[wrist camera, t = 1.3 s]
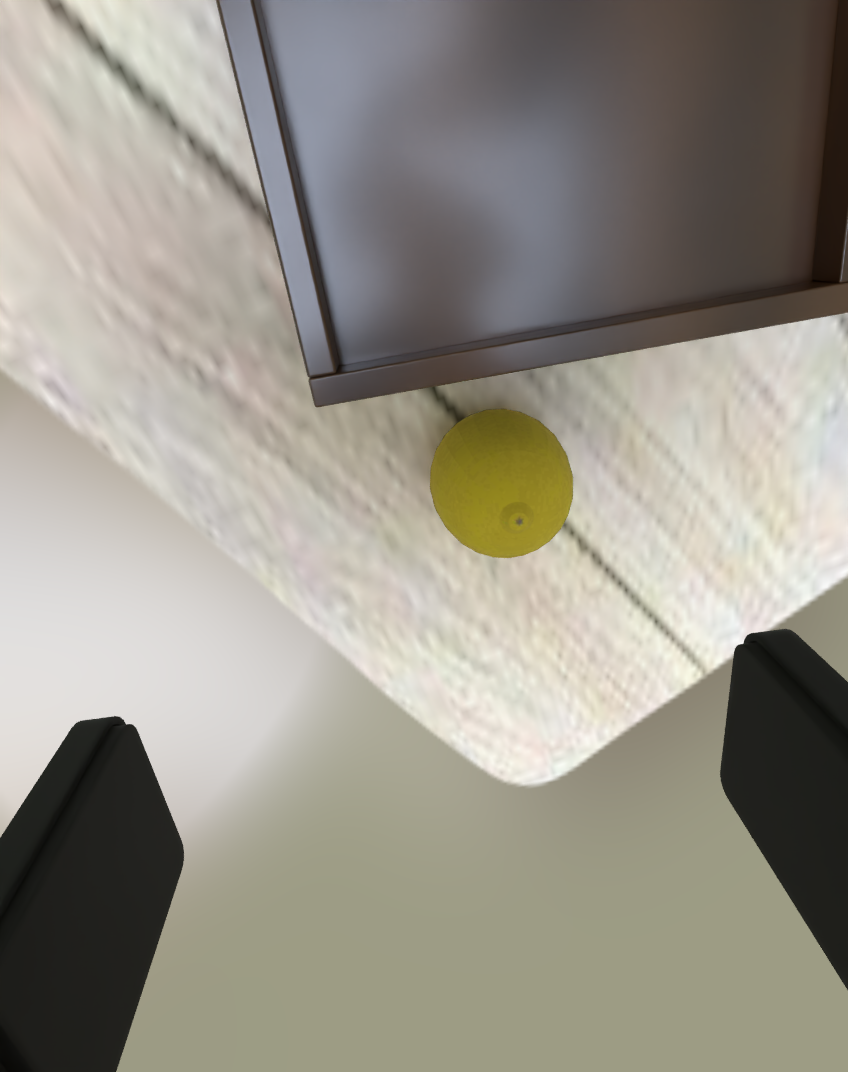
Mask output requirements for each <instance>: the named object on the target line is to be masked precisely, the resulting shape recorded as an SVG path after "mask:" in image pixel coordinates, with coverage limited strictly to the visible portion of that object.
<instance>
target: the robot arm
mask: <svg viewBox="0 0 848 1072" xmlns="http://www.w3.org/2000/svg"><path fill="white" fill-rule="evenodd" d="M720 777H721V782H722V786H723V789H724V792H725V794H726V796H727V798H728V799H729V801H730V803H731V804H732V806H733V807H734V809H735V811H736V812H737V814H738V815H739V817H740V818H741V820H742V822H743V823H744V825H745V827H746V828H747V829H748V831H749V833H750V835H751V836H752V838H753V839H754V841H755V843H756V844H757V846H758V847H759V849H760V850H761V852H762V854H763V855H764V857H765V858H766V860H767V862H768V863H769V865H770V866H771V868H772V870H773V871H774V873H775V875H776V876H777V878H778V879H779V881H780V883H781V884H782V886H783V887H784V889H785V891H786V892H787V894H788V895H789V897H790V899H791V900H792V902H793V903H794V905H795V906H796V908H797V910H798V911H799V913H800V914H801V916H802V918H803V919H804V921H805V923H806V924H807V926H808V927H809V929H810V930H811V932H812V933H813V935H814V937H815V939H816V940H817V942H818V943H819V945H820V947H821V948H822V950H823V951H824V953H825V954H826V956H827V958H828V959H829V961H830V962H831V964H832V966H833V967H834V969H835V970H836V972H837V974H838V975H839V977H840V979H841V980H842V982H843V983H844V985H845V987H846V988H847V989H848V682H847V681H846V680H845V679H844V678H843V677H842V676H841V675H840V674H838V673H837V672H836V671H835V670H834V669H833V668H832V667H831V666H830V665H829V664H828V663H827V662H826V661H825V660H824V659H823V658H821V657H820V656H819V655H818V654H817V653H816V652H815V651H814V650H813V649H811V647H810V646H808V645H807V644H806V643H805V642H804V641H803V640H802V639H801V638H800V637H799V636H798V635H797V634H796V633H794V632H793V631H791V630H788V629H781V630H773V631H766V632H758V633H751V634H749V635H747V636H746V638H745V640H744V644H740V645H737V647H736V648H735V651H734V658H733V667H732V675H731V684H730V692H729V701H728V709H727V718H726V727H725V735H724V745H723V753H722V761H721V770H720ZM183 861H184V850H183V844H182V841H181V838H180V836H179V833H178V831H177V828H176V826H175V823H174V821H173V818H172V816H171V813H170V811H169V808H168V806H167V803H166V801H165V798H164V796H163V793H162V791H161V788H160V786H159V783H158V781H157V778H156V776H155V773H154V771H153V769H152V766H151V763H150V761H149V758H148V756H147V753H146V751H145V749H144V746H143V744H142V741H141V739H140V736H139V734H138V731H137V729H136V728H135V727H134V726H133V725H132V724H127V725H126V724H125V722H124V720H123V719H122V718H120V717H116V716H114V717H107V718H99V719H92V720H84V721H80V722H78V723H76V724H75V725H74V726H73V727H72V728H71V730H70V731H69V733H68V735H67V736H66V738H65V739H64V741H63V742H62V744H61V745H60V747H59V748H58V750H57V751H56V753H55V755H54V756H53V758H52V759H51V761H50V762H49V764H48V765H47V767H46V768H45V770H44V772H43V773H42V775H41V776H40V778H39V779H38V781H37V782H36V784H35V785H34V787H33V788H32V790H31V791H30V793H29V794H28V796H27V798H26V799H25V801H24V802H23V804H22V805H21V807H20V808H19V810H18V811H17V813H16V814H15V816H14V818H13V819H12V821H11V822H10V824H9V825H8V827H7V829H6V830H5V832H4V833H3V834H2V836H1V838H0V1072H116V1070H117V1067H118V1064H119V1061H120V1058H121V1055H122V1052H123V1049H124V1046H125V1043H126V1040H127V1037H128V1034H129V1030H130V1027H131V1024H132V1021H133V1018H134V1015H135V1012H136V1009H137V1006H138V1003H139V1000H140V997H141V994H142V991H143V987H144V984H145V981H146V978H147V975H148V972H149V969H150V966H151V963H152V960H153V957H154V954H155V951H156V948H157V944H158V941H159V938H160V935H161V932H162V929H163V926H164V923H165V920H166V917H167V914H168V911H169V908H170V905H171V901H172V898H173V895H174V892H175V889H176V886H177V883H178V880H179V877H180V874H181V870H182V867H183Z"/></svg>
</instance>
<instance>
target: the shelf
mask: <svg viewBox="0 0 848 1072" xmlns="http://www.w3.org/2000/svg"><path fill="white" fill-rule="evenodd" d="M216 3H217V7H218V11H219V15H220V19H221V24H222V28H223V32H224V36H225V40H226V44H227V48H228V52H229V56H230V60H231V65H232V69H233V73H234V77H235V81H236V85H237V89H238V93H239V97H240V101H241V105H242V110H243V114H244V118H245V122H246V126H247V130H248V134H249V138H250V142H251V146H252V151H253V155H254V159H255V163H256V167H257V171H258V175H259V179H260V183H261V187H262V191H263V196H264V200H265V204H266V208H267V212H268V216H269V220H270V224H271V228H272V232H273V237H274V241H275V245H276V249H277V253H278V257H279V261H280V265H281V269H282V273H283V278H284V282H285V286H286V290H287V294H288V298H289V302H290V306H291V310H292V314H293V318H294V323H295V327H296V331H297V335H298V339H299V343H300V347H301V351H302V355H303V359H304V364H305V368H306V372H307V375H308V377H310V378H309V385H310V389H311V393H312V397H313V401H314V405H315V407H322V406H328V405H334V404H339V403H345V402H350V401H356V400H362V399H367V398H373V397H378V396H384V395H390V394H395V393H401V392H406V391H412V390H417V389H423V388H429V387H434V386H440V385H445V384H451V383H457V382H462V381H468V380H473V379H479V378H485V377H490V376H496V375H501V374H507V373H513V372H518V371H524V370H529V369H535V368H541V367H546V366H552V365H557V364H563V363H569V362H574V361H580V360H585V359H591V358H597V357H602V356H608V355H613V354H619V353H625V352H630V351H636V350H641V349H647V348H653V347H658V346H664V345H669V344H675V343H681V342H686V341H692V340H697V339H703V338H709V337H714V336H720V335H725V334H731V333H737V332H742V331H748V330H753V329H759V328H765V327H770V326H776V325H781V324H787V323H793V322H798V321H804V320H809V319H815V318H821V317H826V316H832V315H837V314H843V313H848V0H216Z"/></svg>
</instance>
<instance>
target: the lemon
mask: <svg viewBox="0 0 848 1072" xmlns="http://www.w3.org/2000/svg"><path fill="white" fill-rule="evenodd" d="M430 490H431V494H432V498H433V502H434V506H435V509H436V511H437V513H438V515H439V516H440V518H441V520H442V522H443V523H444V525H445V527H446V528H447V529H448V530H449V531H450V532H451V533H452V534H453V535H454V536H455V537H456V538H457V539H458V540H459V541H460V542H461V543H462V544H463V545H465V546H467V547H469V548H470V549H472V550H474V551H475V552H477V553H481V554H484V555H488V556H491V557H498V558H512V557H517V556H523V555H526V554H528V553H530V552H533V551H535V550H538V549H539V548H540V547H542V546H543V545H545V544H546V543H548V542H549V541H550V540H551V539H552V538H553V537H554V536H555V535H556V534H557V533H558V531H559V530H560V529H561V527H562V525H563V524H564V522H565V520H566V518H567V516H568V514H569V510H570V506H571V502H572V499H573V476H572V471H571V468H570V464H569V461H568V458H567V455H566V452H565V451H564V449H563V448H562V446H561V444H560V443H559V441H558V440H557V438H556V436H555V435H554V434H553V433H552V432H551V431H550V430H549V429H547V428H546V427H545V426H544V425H543V424H542V423H541V422H540V421H538V420H536V419H534V418H532V417H530V416H528V415H526V414H524V413H522V412H517V411H512V410H507V409H492V410H484V411H481V412H478V413H475V414H472V415H470V416H468V417H466V418H465V419H463V420H461V421H460V422H458V423H457V424H456V425H455V426H454V427H453V428H452V429H451V430H450V431H449V432H448V433H447V434H446V435H445V436H444V437H443V439H442V441H441V442H440V444H439V446H438V448H437V449H436V452H435V455H434V459H433V462H432V465H431V473H430Z"/></svg>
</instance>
